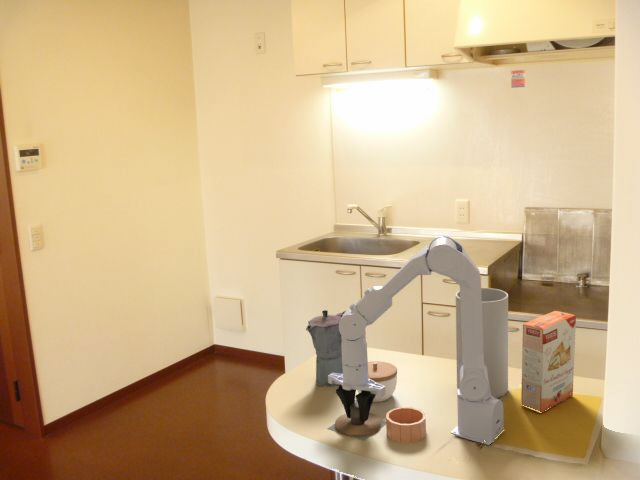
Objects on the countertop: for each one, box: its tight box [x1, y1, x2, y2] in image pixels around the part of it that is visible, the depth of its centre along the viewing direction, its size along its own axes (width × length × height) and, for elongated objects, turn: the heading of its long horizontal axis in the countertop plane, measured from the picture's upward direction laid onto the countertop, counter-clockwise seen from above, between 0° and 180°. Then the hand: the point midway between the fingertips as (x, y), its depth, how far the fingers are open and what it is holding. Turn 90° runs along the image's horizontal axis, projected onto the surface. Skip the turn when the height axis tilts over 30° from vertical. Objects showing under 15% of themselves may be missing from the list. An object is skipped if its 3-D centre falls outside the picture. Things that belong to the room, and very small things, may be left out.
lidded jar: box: [356, 360, 398, 403], centre depth 166 cm, size 11×11×9 cm
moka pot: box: [305, 310, 346, 387], centre depth 177 cm, size 10×15×20 cm, turn 132°
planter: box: [385, 406, 427, 444], centre depth 148 cm, size 9×9×4 cm
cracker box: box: [520, 310, 577, 413], centre depth 158 cm, size 14×6×21 cm, turn 129°
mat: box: [326, 419, 386, 441], centre depth 153 cm, size 10×10×1 cm
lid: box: [334, 402, 382, 437], centre depth 152 cm, size 10×10×5 cm
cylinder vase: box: [455, 287, 509, 399], centre depth 166 cm, size 12×12×25 cm
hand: (357, 418), depth 152 cm, fingers closed on lid, 3 cm apart
